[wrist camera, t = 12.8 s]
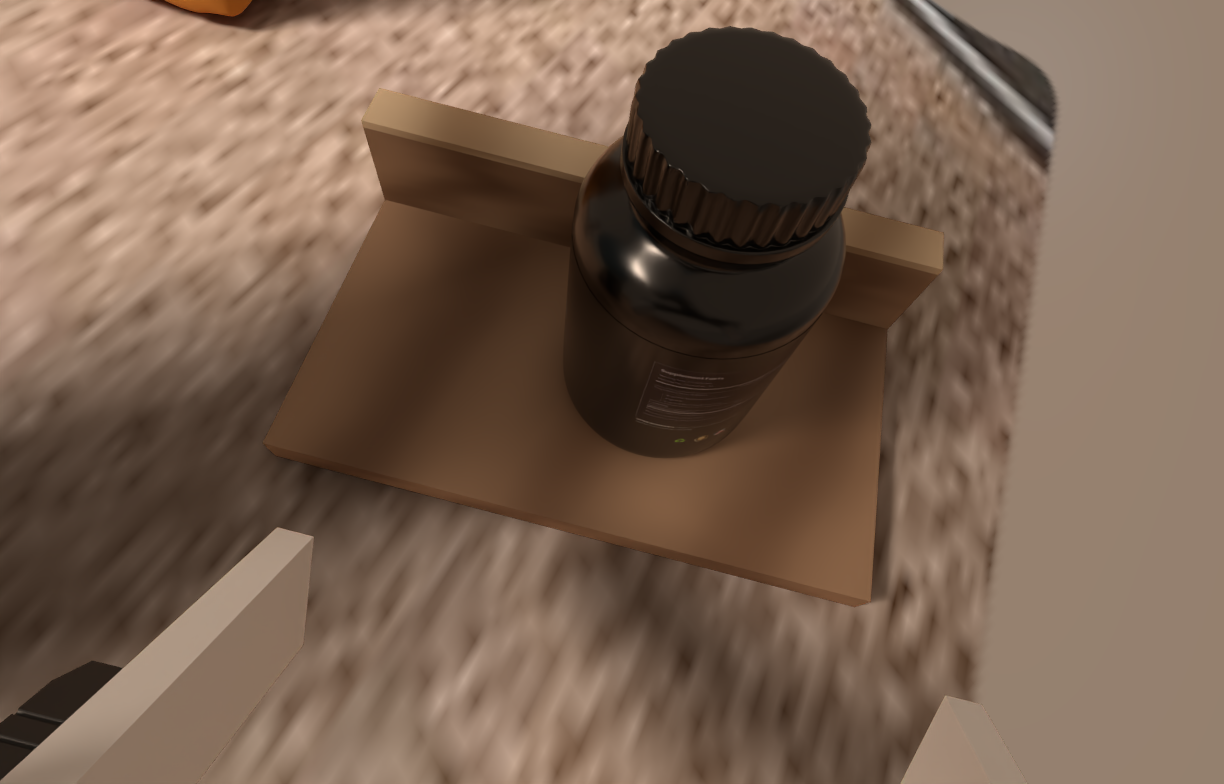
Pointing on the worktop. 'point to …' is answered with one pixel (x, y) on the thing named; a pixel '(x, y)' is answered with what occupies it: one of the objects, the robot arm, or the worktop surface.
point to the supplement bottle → (708, 237)
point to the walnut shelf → (534, 379)
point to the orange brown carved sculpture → (213, 6)
